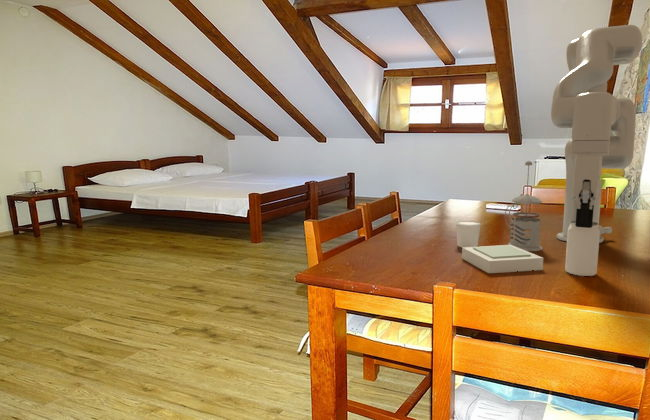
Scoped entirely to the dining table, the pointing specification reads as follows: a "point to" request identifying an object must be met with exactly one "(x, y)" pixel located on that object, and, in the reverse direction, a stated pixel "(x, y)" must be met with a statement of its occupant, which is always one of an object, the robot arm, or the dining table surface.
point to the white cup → (467, 233)
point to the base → (502, 258)
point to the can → (582, 250)
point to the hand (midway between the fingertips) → (584, 224)
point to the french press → (525, 223)
